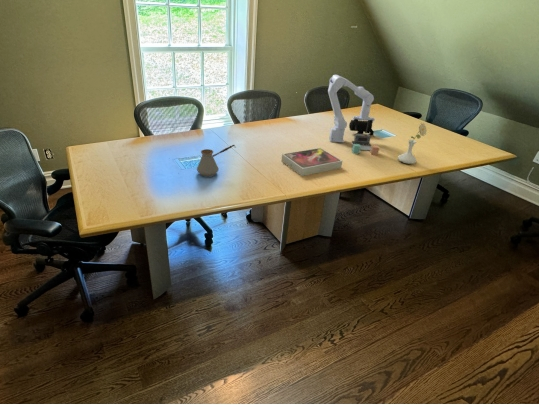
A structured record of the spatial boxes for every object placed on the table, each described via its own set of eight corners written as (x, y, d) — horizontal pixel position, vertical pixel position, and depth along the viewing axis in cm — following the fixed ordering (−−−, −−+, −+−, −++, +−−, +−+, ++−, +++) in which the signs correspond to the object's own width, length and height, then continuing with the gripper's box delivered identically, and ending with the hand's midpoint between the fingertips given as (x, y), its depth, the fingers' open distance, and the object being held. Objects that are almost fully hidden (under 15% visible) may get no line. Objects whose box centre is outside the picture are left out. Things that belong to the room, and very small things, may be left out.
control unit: (353, 144, 234) (354, 135, 231) (351, 141, 238) (353, 133, 235) (370, 145, 234) (372, 136, 231) (368, 143, 238) (370, 134, 235)
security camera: (373, 136, 250) (376, 123, 245) (349, 135, 250) (351, 122, 245) (371, 133, 256) (374, 120, 251) (347, 132, 256) (349, 119, 251)
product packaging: (281, 161, 203) (282, 154, 201) (319, 155, 216) (320, 147, 213) (301, 176, 187) (302, 168, 185) (341, 168, 200) (342, 160, 197)
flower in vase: (404, 166, 207) (415, 126, 194) (393, 158, 216) (403, 120, 204) (422, 164, 211) (434, 125, 198) (410, 157, 220) (421, 119, 207)
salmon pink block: (371, 154, 220) (373, 147, 218) (370, 152, 224) (371, 145, 221) (377, 155, 220) (379, 147, 218) (376, 152, 224) (377, 145, 221)
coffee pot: (200, 179, 176) (198, 153, 168) (194, 170, 185) (193, 144, 177) (238, 174, 184) (239, 148, 177) (231, 165, 193) (231, 140, 186)
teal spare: (353, 153, 220) (354, 146, 218) (351, 150, 224) (353, 143, 221) (359, 153, 220) (360, 146, 218) (357, 151, 224) (359, 144, 221)
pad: (357, 150, 225) (357, 149, 225) (355, 145, 232) (355, 144, 232) (372, 151, 225) (372, 150, 225) (369, 146, 232) (369, 145, 232)
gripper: (374, 110, 234) (370, 129, 241) (353, 108, 234) (350, 127, 241) (377, 113, 228) (372, 132, 235) (355, 111, 228) (351, 131, 235)
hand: (361, 130), depth 238 cm, fingers open, 7 cm apart
